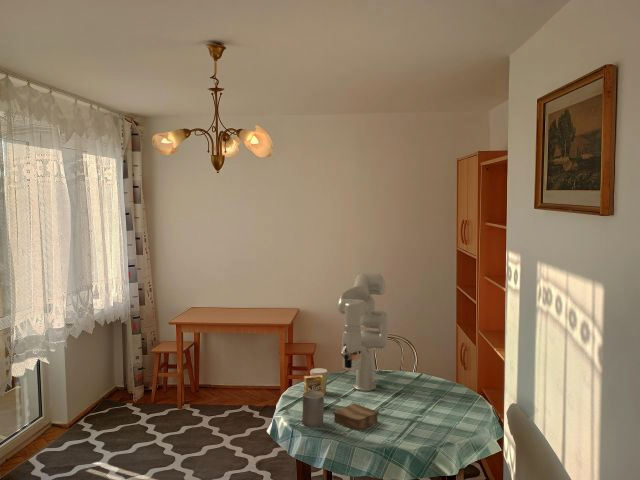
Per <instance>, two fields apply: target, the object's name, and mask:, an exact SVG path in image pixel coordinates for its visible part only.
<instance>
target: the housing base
mask: <svg viewBox="0 0 640 480" xmlns="http://www.w3.org/2000/svg"><path fill="white" fill-rule="evenodd" d="M350 360H351V368H346V367H345V359H344V357H343V356H342V365H341V367H342V369H346V370H348V371H352V372H354V371H355V372H356V370H358V369H361V358H360V359H357V360H352V359H350Z"/></svg>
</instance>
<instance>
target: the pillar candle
mask: <svg viewBox="0 0 640 480" xmlns="http://www.w3.org/2000/svg"><path fill="white" fill-rule="evenodd" d="M324 401H325V394H323V393H321V392H318V391H308V392H305V393H304V392H303V393H302V415H301V417H302V419H301V420H302V421H301V423H302V425H303V426H304V427H307V428H319V427H321V426H323V425H324V414H325V413H324V409H325V406H324V405H325V402H324Z"/></svg>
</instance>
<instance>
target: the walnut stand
mask: <svg viewBox="0 0 640 480" xmlns="http://www.w3.org/2000/svg"><path fill="white" fill-rule="evenodd" d="M332 414H333V415H334V420H333V421H334V422H333V423H336V424H338V425H341V426H344V427H347V428H350V429H352V430H355V431H357V432H359V431H361V430H362V429H365V428H367V427H369V426H371V425H375V424H376V423H378V415H380V411H378V410H375V409H372V408H368V407H365V406H362V405H360V404H356V403H352V404H349V405H346V406H344V407H342V408H338V409H336V410H334V411H332Z"/></svg>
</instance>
